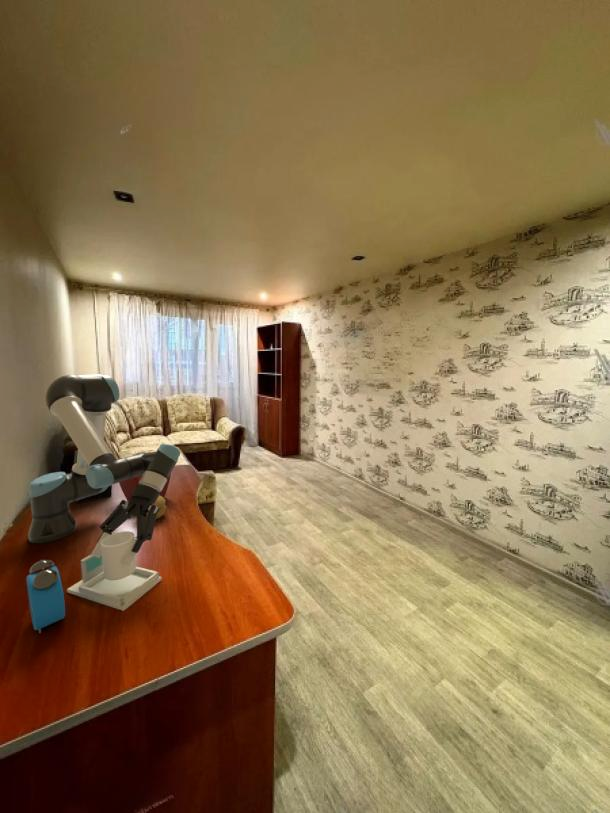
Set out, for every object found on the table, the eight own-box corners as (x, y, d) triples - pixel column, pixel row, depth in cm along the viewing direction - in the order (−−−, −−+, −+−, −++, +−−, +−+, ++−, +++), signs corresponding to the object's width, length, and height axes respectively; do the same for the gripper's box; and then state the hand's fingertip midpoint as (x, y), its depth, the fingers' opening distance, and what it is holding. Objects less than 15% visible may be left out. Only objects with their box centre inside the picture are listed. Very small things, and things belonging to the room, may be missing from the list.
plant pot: (175, 496, 161) (173, 464, 159) (138, 510, 145) (135, 475, 143) (153, 489, 172) (151, 459, 170) (116, 502, 156) (113, 468, 154)
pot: (133, 517, 139) (132, 495, 137) (161, 509, 146) (160, 488, 145) (140, 527, 130) (139, 503, 129) (170, 518, 137) (168, 496, 136)
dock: (67, 592, 92) (64, 566, 91) (109, 565, 104) (107, 542, 103) (123, 610, 84) (121, 582, 83) (161, 579, 96) (159, 555, 95)
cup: (109, 585, 85) (105, 550, 84) (96, 567, 94) (93, 534, 93) (141, 570, 91) (138, 537, 90) (127, 555, 100) (124, 524, 99)
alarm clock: (30, 614, 83) (23, 560, 82) (59, 601, 88) (54, 551, 86) (36, 643, 74) (29, 584, 73) (68, 627, 79) (62, 571, 77)
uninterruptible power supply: (109, 479, 190) (106, 446, 187) (114, 497, 162) (110, 459, 160) (75, 485, 180) (72, 451, 178) (74, 505, 153) (70, 465, 150)
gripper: (184, 497, 101) (149, 571, 88) (129, 489, 109) (90, 556, 96) (171, 487, 95) (132, 565, 83) (114, 479, 103) (70, 549, 91)
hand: (109, 560), depth 89 cm, fingers closed on cup, 11 cm apart
